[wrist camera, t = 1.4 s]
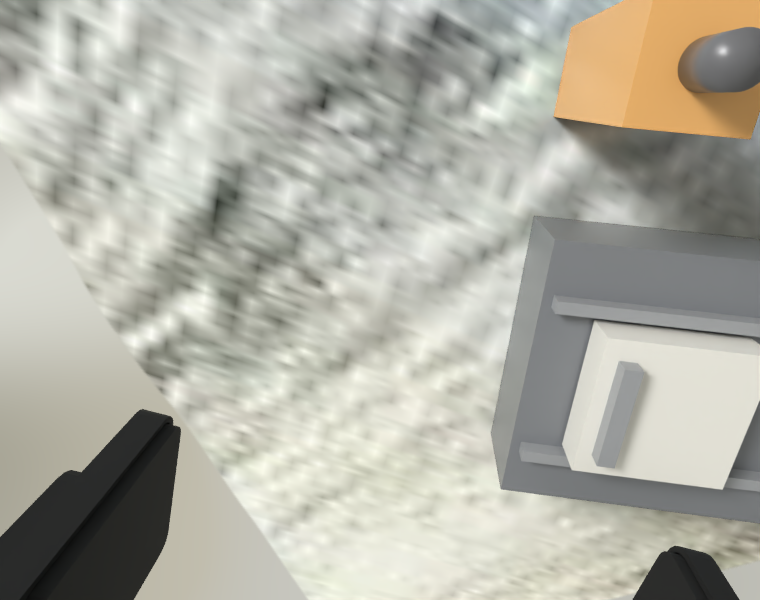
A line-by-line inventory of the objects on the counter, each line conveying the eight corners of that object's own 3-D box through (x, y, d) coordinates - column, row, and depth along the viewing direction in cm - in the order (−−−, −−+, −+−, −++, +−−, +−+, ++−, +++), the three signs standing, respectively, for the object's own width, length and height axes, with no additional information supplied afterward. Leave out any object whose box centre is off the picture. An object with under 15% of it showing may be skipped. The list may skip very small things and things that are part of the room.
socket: (907, 254, 27) (1026, 294, 21) (802, 473, 32) (877, 549, 27) (534, 215, 28) (558, 244, 22) (490, 433, 33) (502, 499, 28)
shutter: (750, 337, 24) (789, 366, 21) (702, 461, 26) (731, 502, 24) (594, 319, 24) (614, 346, 22) (562, 444, 27) (576, 481, 24)
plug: (658, 34, 24) (850, -20, 13) (635, 124, 26) (790, 144, 15) (571, 26, 25) (688, -33, 13) (553, 117, 26) (645, 130, 15)
